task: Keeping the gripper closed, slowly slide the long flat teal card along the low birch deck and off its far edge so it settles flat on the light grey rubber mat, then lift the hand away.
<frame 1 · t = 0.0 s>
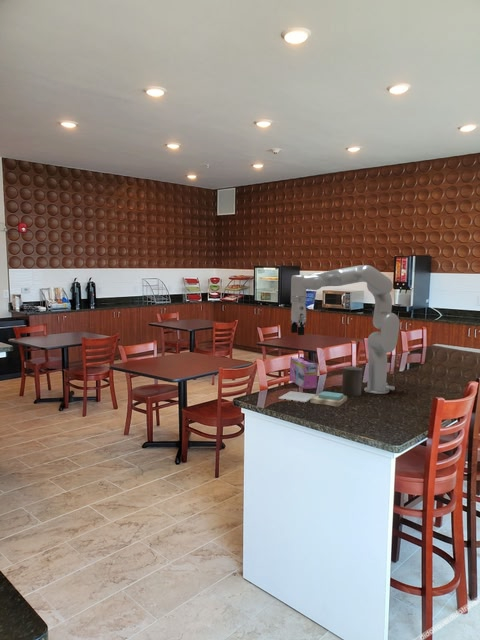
hand: (297, 333, 243), 31 cm above the table, tool pointing down, fingers open, 9 cm apart
birch deck: (328, 401, 234), on the table
teal card: (331, 397, 234), point 2 cm above the table, touching birch deck
pink purple printed box: (302, 384, 272), on the table
dark brown cylinder: (351, 394, 249), on the table
grey mat: (297, 397, 242), on the table
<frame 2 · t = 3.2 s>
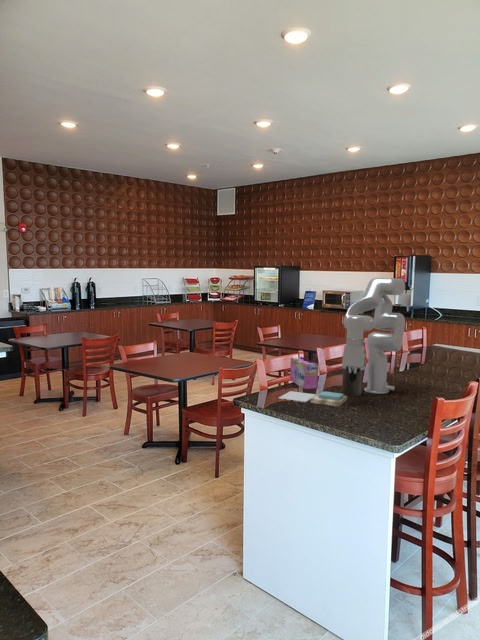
hand: (352, 381, 228), 11 cm above the table, tool pointing down, fingers closed
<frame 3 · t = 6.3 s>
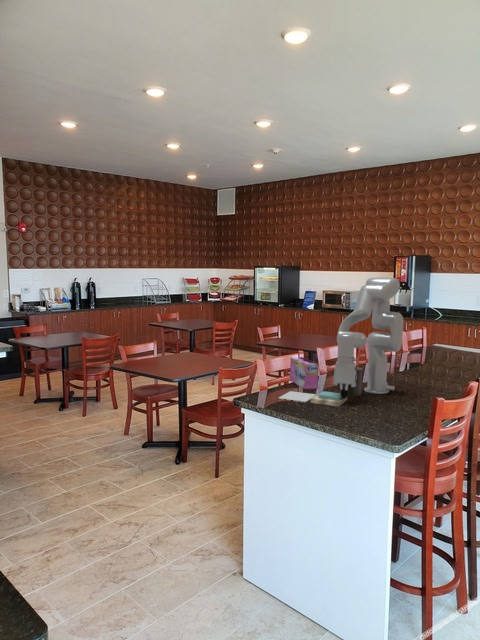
hand: (344, 397, 231), 3 cm above the table, tool pointing down, fingers closed
teal card: (330, 397, 234), point 2 cm above the table, touching birch deck, gripper
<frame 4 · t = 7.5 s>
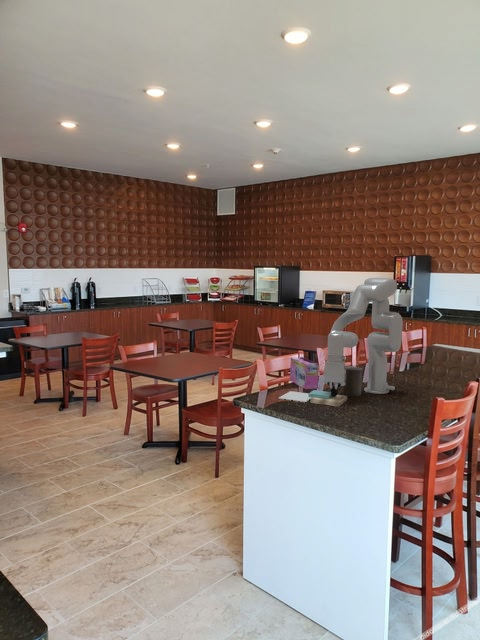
hand: (333, 396, 233), 3 cm above the table, tool pointing down, fingers closed
teal card: (320, 396, 236), point 2 cm above the table, touching gripper
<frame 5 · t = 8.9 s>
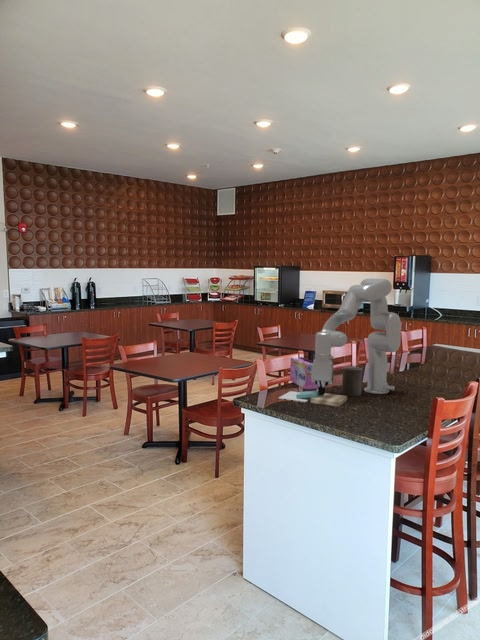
hand: (321, 394, 236), 3 cm above the table, tool pointing down, fingers closed
teal card: (308, 395, 238), point 1 cm above the table, tilted 10°
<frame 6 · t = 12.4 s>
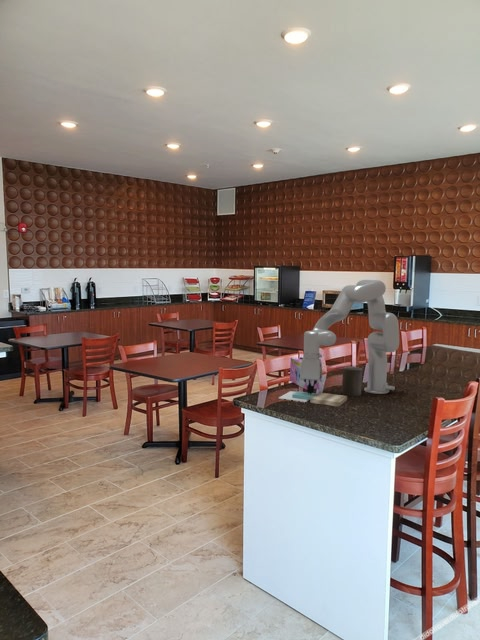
hand: (310, 392, 238), 3 cm above the table, tool pointing down, fingers closed
teal card: (304, 397, 239), resting on grey mat
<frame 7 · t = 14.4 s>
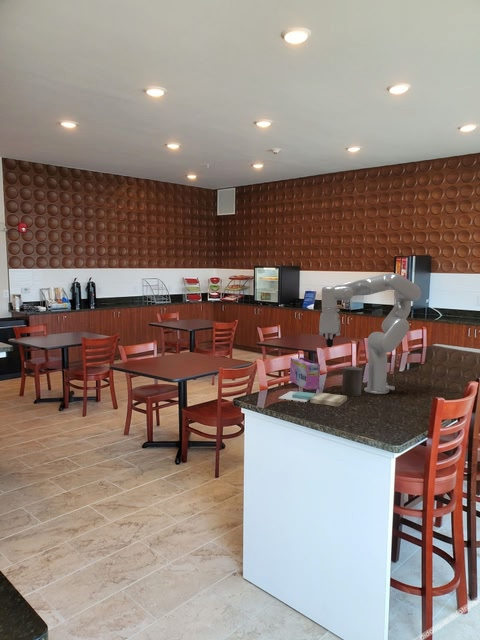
hand: (329, 346, 247), 24 cm above the table, tool pointing down, fingers closed
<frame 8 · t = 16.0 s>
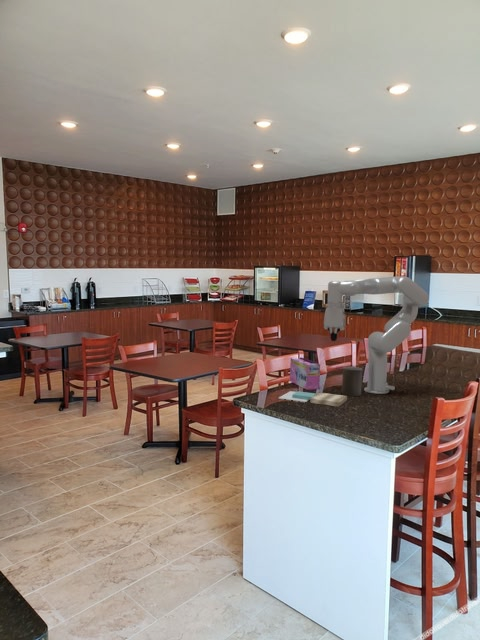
hand: (333, 340, 251), 27 cm above the table, tool pointing down, fingers closed
at the end: teal card inside the target area on the grey mat (3.8 cm from its centre), point 0.5 cm above the grey mat's base; teal card tilted 0° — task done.
